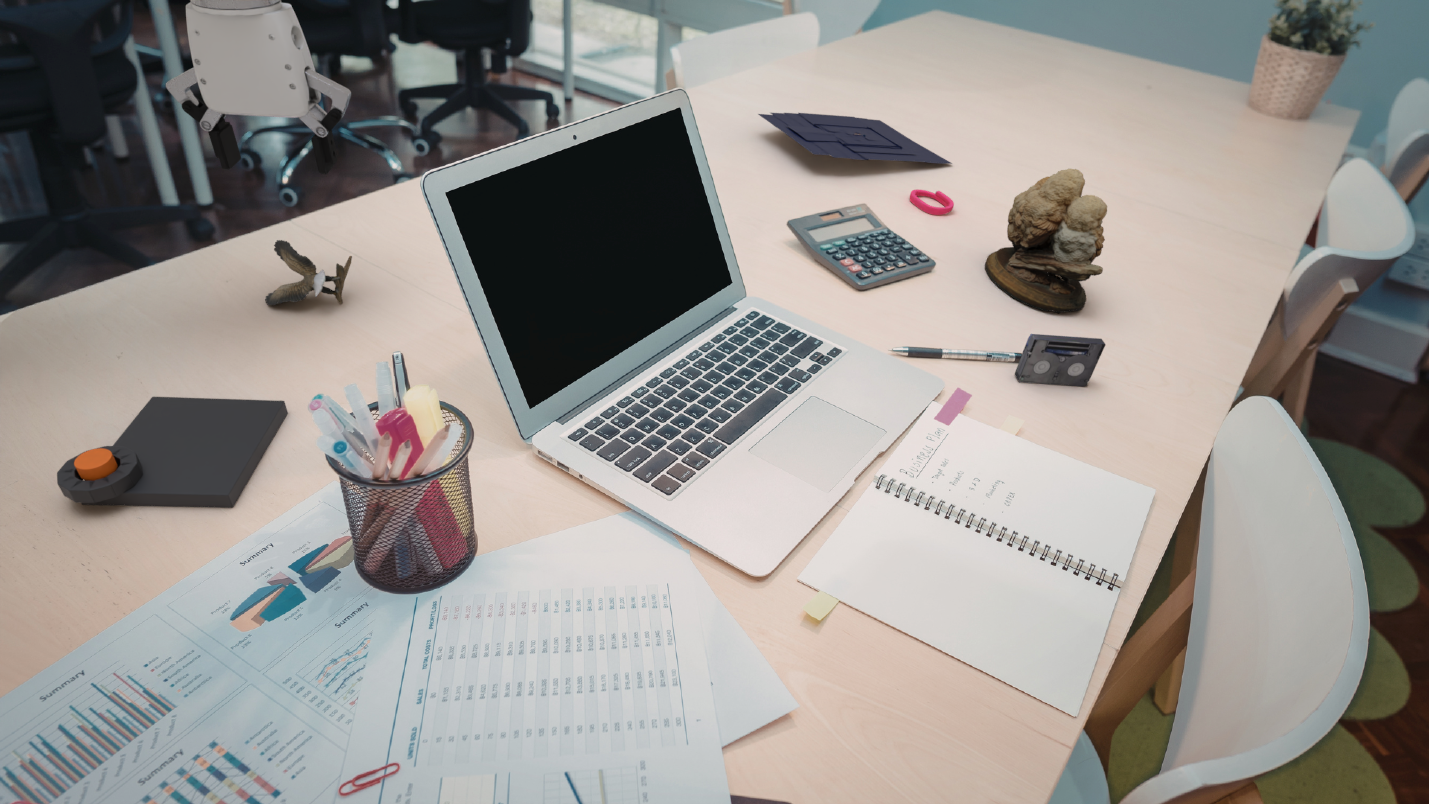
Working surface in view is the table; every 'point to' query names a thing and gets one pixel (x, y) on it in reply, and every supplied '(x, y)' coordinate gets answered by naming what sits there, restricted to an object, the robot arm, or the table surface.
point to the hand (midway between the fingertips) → (280, 167)
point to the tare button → (95, 464)
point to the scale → (182, 454)
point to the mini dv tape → (1059, 360)
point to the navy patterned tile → (850, 137)
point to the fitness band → (937, 196)
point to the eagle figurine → (305, 277)
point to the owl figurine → (1051, 244)
